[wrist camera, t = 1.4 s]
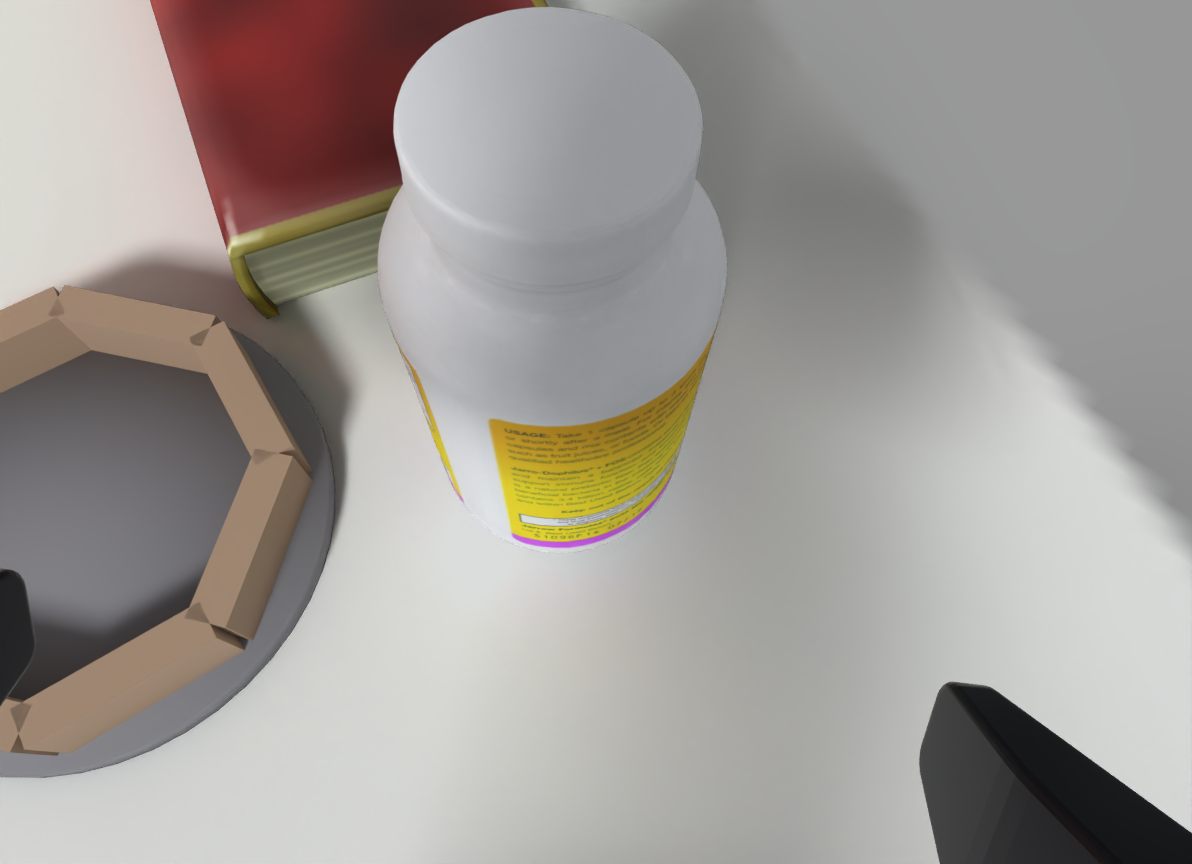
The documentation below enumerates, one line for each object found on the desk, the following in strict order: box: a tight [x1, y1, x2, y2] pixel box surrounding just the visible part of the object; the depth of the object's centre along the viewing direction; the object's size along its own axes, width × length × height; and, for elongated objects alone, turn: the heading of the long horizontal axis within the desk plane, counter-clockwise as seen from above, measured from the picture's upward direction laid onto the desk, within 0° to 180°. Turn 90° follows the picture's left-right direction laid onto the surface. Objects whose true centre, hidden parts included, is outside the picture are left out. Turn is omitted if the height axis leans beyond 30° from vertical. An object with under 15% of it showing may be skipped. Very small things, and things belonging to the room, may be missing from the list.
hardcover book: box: [150, 0, 548, 319], centre depth 29 cm, size 12×21×4 cm, turn 23°
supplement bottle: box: [378, 7, 727, 553], centre depth 18 cm, size 7×7×13 cm
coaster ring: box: [0, 285, 335, 778], centre depth 21 cm, size 13×13×3 cm
